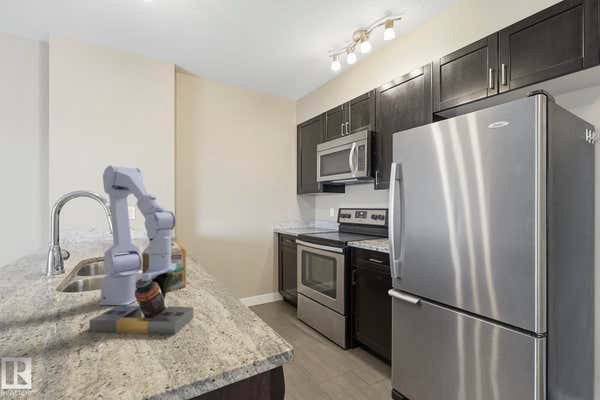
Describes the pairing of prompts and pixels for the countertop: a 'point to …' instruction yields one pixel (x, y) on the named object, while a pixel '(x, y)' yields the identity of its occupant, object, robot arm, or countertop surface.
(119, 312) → the grey flat block
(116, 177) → the robot arm
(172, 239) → the food carton
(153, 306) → the supplement bottle
